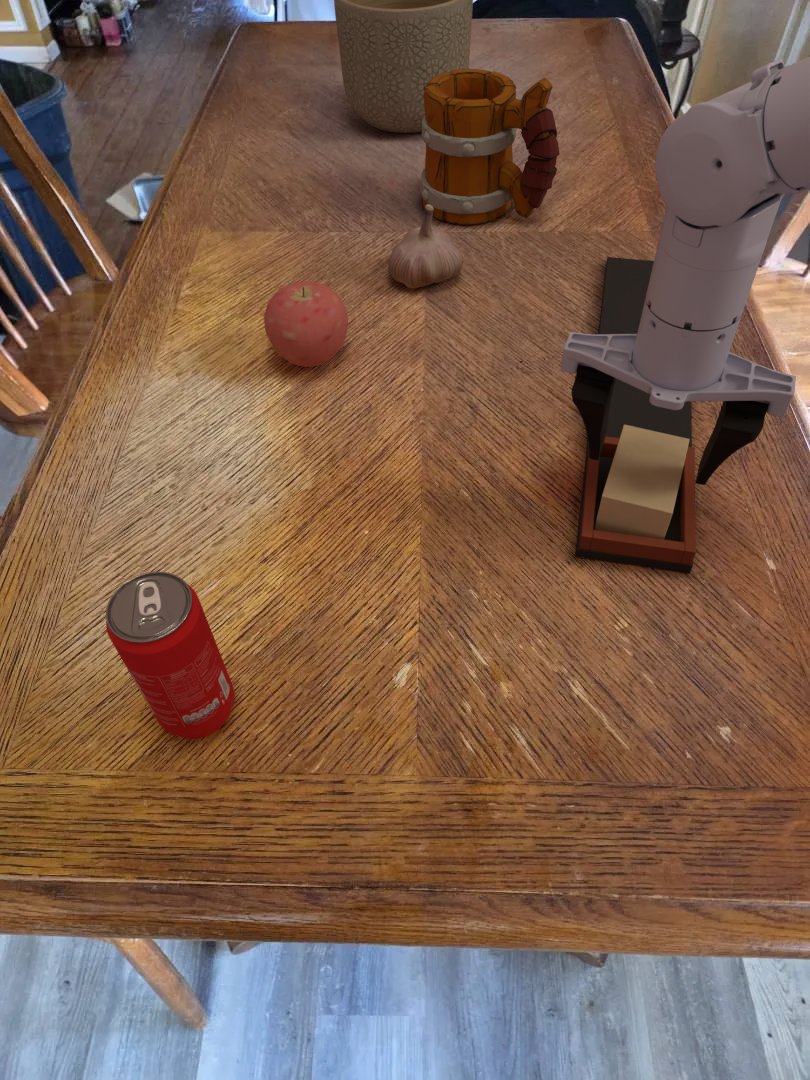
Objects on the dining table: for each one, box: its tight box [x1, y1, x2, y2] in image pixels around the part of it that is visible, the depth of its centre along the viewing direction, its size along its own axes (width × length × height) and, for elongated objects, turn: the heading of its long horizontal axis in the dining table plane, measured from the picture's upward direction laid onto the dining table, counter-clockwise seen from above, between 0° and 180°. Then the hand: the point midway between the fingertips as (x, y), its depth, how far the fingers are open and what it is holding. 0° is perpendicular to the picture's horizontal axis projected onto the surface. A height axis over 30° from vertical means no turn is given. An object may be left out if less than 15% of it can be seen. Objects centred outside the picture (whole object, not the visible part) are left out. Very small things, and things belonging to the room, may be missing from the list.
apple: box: [263, 280, 349, 368], centre depth 74 cm, size 7×7×8 cm
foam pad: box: [594, 425, 690, 540], centre depth 61 cm, size 5×8×4 cm, turn 159°
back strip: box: [574, 256, 697, 574], centre depth 72 cm, size 8×40×2 cm, turn 168°
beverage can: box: [105, 571, 235, 740], centre depth 49 cm, size 5×5×12 cm
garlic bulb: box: [387, 204, 464, 289], centre depth 82 cm, size 8×7×8 cm
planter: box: [333, 0, 474, 134], centre depth 103 cm, size 17×17×15 cm
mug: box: [419, 68, 560, 226], centre depth 88 cm, size 11×16×15 cm, turn 56°
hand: (648, 462), depth 59 cm, fingers open, 7 cm apart
